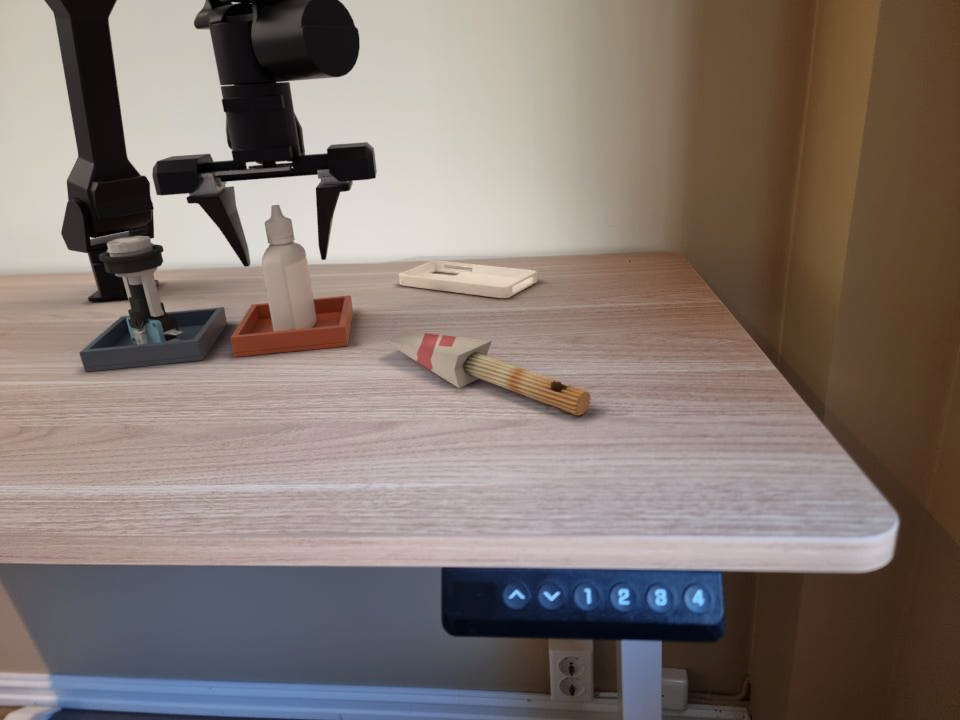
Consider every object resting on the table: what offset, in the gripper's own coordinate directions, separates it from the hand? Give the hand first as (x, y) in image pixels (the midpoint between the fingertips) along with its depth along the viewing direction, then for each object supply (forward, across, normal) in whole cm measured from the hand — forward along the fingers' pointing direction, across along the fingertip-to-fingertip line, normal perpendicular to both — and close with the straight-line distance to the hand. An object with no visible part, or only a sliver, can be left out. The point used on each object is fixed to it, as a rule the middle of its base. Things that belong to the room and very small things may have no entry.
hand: (286, 262), depth 64 cm
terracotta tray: (+7, 0, 0) cm, 7 cm away
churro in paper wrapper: (+7, -16, +16) cm, 24 cm away
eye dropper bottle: (+7, 0, 0) cm, 7 cm away
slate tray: (+7, +13, 0) cm, 15 cm away
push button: (+7, +13, 0) cm, 15 cm away
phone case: (+7, -18, -12) cm, 23 cm away
